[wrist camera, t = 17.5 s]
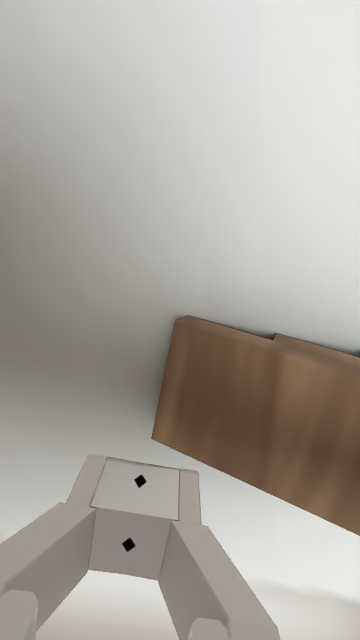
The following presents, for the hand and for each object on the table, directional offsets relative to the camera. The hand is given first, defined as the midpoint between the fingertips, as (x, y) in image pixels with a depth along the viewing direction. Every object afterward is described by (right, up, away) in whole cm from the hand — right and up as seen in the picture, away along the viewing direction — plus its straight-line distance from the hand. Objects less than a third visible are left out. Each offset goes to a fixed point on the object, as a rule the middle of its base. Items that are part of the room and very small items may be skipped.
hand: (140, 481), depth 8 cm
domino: (+1, +2, +6) cm, 6 cm away
